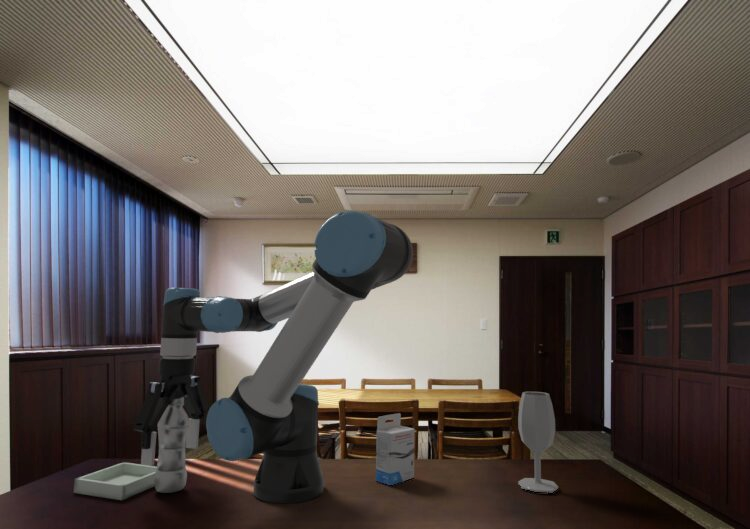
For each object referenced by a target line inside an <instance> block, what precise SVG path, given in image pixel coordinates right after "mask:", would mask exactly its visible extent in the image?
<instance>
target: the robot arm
mask: <svg viewBox="0 0 750 529" xmlns="http://www.w3.org/2000/svg"><path fill="white" fill-rule="evenodd" d="M314 239H315V240H314V246H315V249H314V257H315V259H314V261H313V263H312V264H311V269H312V271H311V272H309V273H306V274H305V275H302V276H300V277H298V278H295V279H293V280H291V281H290V282H287V283H285V284H282V285H281V286H278V287H276V288H275V287H274V288H273V289H271V290H269V291H266V292H264V293H263V294H260V295H258V296H255V297H254V298H253V297H252V298H234V297H230V296H229V297H228V296H207V297H206V296H204V297H203V296H201V295H200V294H201V292H200V290H199V289H197V288H189V287H169V288H167V289H166V290H165V292H164V297H163V298H164V299H163V304H162V316H161V317H162V318H161V322H162V323H161V331H160V332H161V334H160V335H161V338H160V339H161V340H160V348H159V349H160V350H159V351H160V353H159V356H161V358H160V359H159V361H158V375H159V376H160V377H161V380H160V382H157V381H156V382H154V381H150V382H149V384H148V389H147V394H146V396H145V398H144V401H143V403H142V406H141V408H140V410H139V413H138V415H137V418H136V420H135V422H134V425H133V426H132V428H133V430H134V431H137V432H140V434H141V436H140V449H141V456H140V458H141V459H140V464H141V465H149V466H155V460H156V459H155V458H156V457H155V456H156V446H157V445H156V444H157V434H158V431H154V430H155V429H156V428H157V426H158V422H159V420H160V419H161V417H162V415H163V413H164V412H165V410H166V408H167V407H168V405H169V404H171V403H172V401H173V400H174V398H180V397H183V396H184V405H183V407H185V410H186V412H187V414H188V416H190V417H189V425H188V426H189V427H188V432H187V437H186V445H185V449H191V450H192V449H194V450H196V449H198V448H199V435H200V433H199V432H200V430H201V429H200V428H201V419H205V418H206V421H205V428H206V432H207V434H206V435H207V436H206V437H207V440H208V441H209V444H210V447H211V448H212V450H213V451H214V453H215V454H216V455H217V456H218V457H220V458H221V459H223V460H225V461H226V462H227V461H228V462H236V461H239V460H242V461H243V460H248V459H249V458H252V457H253V456H256V455H260V454H262V453H263V454H262V458H261V461H260V463H259V467H258V469H257V472H256V476H255V478H254V481H253V495H254V497H256V498H257V499H258V500H261V501H263V502H268V503H275V504H293V503H295V504H296V503H301V502H306V501H309V500H312V499H315V498H318V497H319V496H320V495H322V494H323V492H324V490H325V488H324V486H325V485H324V484H325V479H324V474H323V471H322V468H321V465H320V461H319V457H318V452H317V450H318V448H317V447H318V446H317V445H318V419H319V418H318V417H319V416H318V415H319V405H320V402H319V393H318V389H317V388H316V386H314V385H311V384H302V381H303V380H304V378H305V377H306V375H307V374H308V372H309V371H310V369H311V367H312V366H313V365H314V364H315V361H316V360H317V359H318V357H319V356H320V354H321V352H322V351H323V349H324V348H325V346H326V345H327V343H328V342H329V341H330V338H331V337H332V336H333V334H334V333H335V331H336V329H337V328H338V326H339V325H340V323H341V321H342V320H343V319H344V318H345V316H346V314H347V312H348V311H349V310H350V308H351V306H352V305H353V303H355V302H357V301H364V300H366V298H367V297H368V295H369V294H370V292H371V291H372V290H375V289H377V288H380V287H382V286H385V285H387V284H391V283H392V282H396V281H398V280H400V279H401V278H402V277H403V276H404V275H405V274H406V273H407V272H408V270H409V268H410V267H411V265H412V262H413V257H414V251H413V250H414V248H413V245H412V241H411V239H410V237H409V236H408V234H407V233H406V232H405V231H404V230H403V229H401V228H400V226H397V225H396V224H392V223H389V222H387V221H384V220H382V219H380V218H378V217H375V216H374V215H371V214H370V213H366V212H360V211H356V210H345V211H342V212H337V213H336V214H334V215H332V216H330V217H329V218H328V219H327V220H326V221H324V223H323V224H322V225H321V227H320V228H319V229H318V231H317V233H316V237H315V238H314ZM284 320H287V321H286V322H285V323H284V325H283V326H282V329H281V330H280V331H279V333H278V335H277V336H276V338H275V339H274V341H273V343H272V344H271V346H269V349H268V351H267V352H266V354H265V355H264V357H263V359H262V360H261V361H260V364H259V365H258V367H257V368H256V370H255V371H254V373H253V374H252V375H246V376H244V377H242V378H241V379H240V381H239V382H238V384H237V385H236V387H235V389H234V390H233V391H232V394H230V396H229V397H223V398H220V399H218V400H216V401H215V402H213V403H212V404H211V406H210V408H209V410H208V407H207V403H206V401H205V397H204V393H203V390H202V385H201V384H202V383H201V382H202V381H201V376H200V375H199V376H197V375H194V374H195V372H196V359H195V357H194V356H196V355H197V350H198V349H197V346H198V345H197V344H198V332H206V333H215V334H219V333H221V334H223V333H231V332H233V333H234V332H256V333H257V332H258V333H260V332H266V331H272V330H273V329H275V327H276V326H277V325H278V323H279V322H282V321H284Z"/></svg>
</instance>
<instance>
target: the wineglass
mask: <svg viewBox="0 0 750 529" xmlns="http://www.w3.org/2000/svg"><path fill="white" fill-rule="evenodd" d="M519 401H520V402H519V408H518V414H517V415H518V416H517V421H518V422H517V423H518V424H517V425H518V427H517V428H518V431H519V435H520V439H521V441H522V443H523V444H524V445H525V446H526V447H527V448H528V449H529V450H530V451H531V452H532V453H533V455H534V458H533V459H534V464H533V465H534V466H533V467H534V477H524V478H522V479H519V480H518V481H517V482H518V483H517V484H518V486H519V485H520V486H521V487H520V486H519V487H520V489H521V490H522V489H525V490H524V491H526V490H530V491H534V492H547V493H546V494H548V492H549V493H553V492H554V491H556V490H557V489H558V488H559V486H558V485H557V484H556V482H555V481H553V480H548V479H543V478H542V466H541V465H542V463H541V461H542V460H541V455H542V454H543V453H544V452H545V451H546V450H547V449H549V448H550V447H551V446H552V445H553V444H554V440H555V439H554V438H555V435H556V417H555V411H554V407H553V403H552V399H551V396H550V393H547V392H542V391H523V392H522V393H521V397H520V400H519ZM558 490H559V489H558ZM558 490H557V491H558ZM530 491H529V492H530ZM557 491H556V492H557ZM534 492H533V493H534ZM554 493H555V492H554ZM554 493H553V494H554Z"/></svg>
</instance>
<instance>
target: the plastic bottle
mask: <svg viewBox="0 0 750 529" xmlns="http://www.w3.org/2000/svg"><path fill="white" fill-rule="evenodd" d="M189 418H190V417H189V414H188V412H187V410H186V409H184V396H183V397H180V398H174V400H173V401H172V403H171V404H169V405H168V407H167V408H166V410H165V412H164V413H163V415H162V417H161V419H160V420H159V422H158V424H157V434H158V456H157V464H156V467H157V470H156V472H155V477H154V488H155V490H156V492H158V493H161V494H170V493H172V494H173V493H176V492H179V491H182V490H183V489H184V487H185V486H186V484H187V479H188V473H187V467H186V439H187V432H188V427H189V426H188V425H189Z"/></svg>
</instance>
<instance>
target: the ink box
mask: <svg viewBox="0 0 750 529" xmlns="http://www.w3.org/2000/svg"><path fill="white" fill-rule="evenodd" d="M401 416H402V414H401V413H400V412H398V413H393V414H386V415H382V416H378V417H377V421H376V422H377V424H376V427H377V428H376V437H375V438H376V440H375V441H376V444H375V446H376V448H375V449H376V452H375V453H376V454H375V482H376V481H379V482H381V483H380V484H382V483H385V484H387V485H386V486H388V485H392V484H396V483H399V482H402V481H405V480H408V479H411V478H413V477H414V478H415V433H416V432H415V431H416V430H415V428H413V427H409V426H405V425H401V421H402V420H401V419H402V418H401ZM388 420H392V421H389V422H386V421H388ZM379 482H378V483H379ZM402 483H403V482H402ZM385 484H384V485H385ZM399 484H400V483H399ZM396 485H397V484H396Z"/></svg>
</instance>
